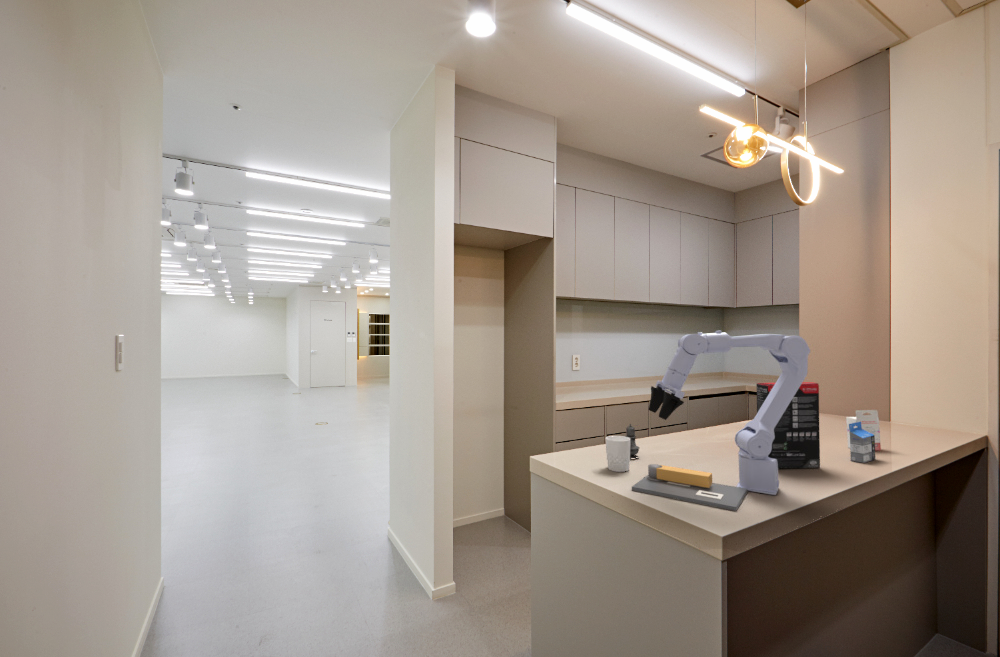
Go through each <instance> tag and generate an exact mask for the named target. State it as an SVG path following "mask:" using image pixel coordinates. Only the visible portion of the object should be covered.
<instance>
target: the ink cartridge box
mask: <svg viewBox="0 0 1000 657" xmlns="http://www.w3.org/2000/svg"><path fill="white" fill-rule="evenodd" d="M866 413H867V415H866ZM864 414H865V415H864ZM845 420H846V434H847V435H846V436H847V437H846V438H847V448H848V449H850V429H849V424H852V423H856V422H860V421H861V427H862V429H863V430H865V431H867V432H869V433H871V434H873V435H875V452H876V451H882V447H881V446H882V445H881V431H880V418H879V412H878V410H877V409H864V410H863V409H861V410H858V409H857V410H855V416H846V417H845ZM854 428H857V426H856V425H855V426H854Z"/></svg>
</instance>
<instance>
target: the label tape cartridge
mask: <svg viewBox="0 0 1000 657" xmlns="http://www.w3.org/2000/svg"><path fill="white" fill-rule="evenodd" d="M855 425H856V426H857V428H854V426H855ZM849 429H850V448H849V450H850V451H849V452H850V454H849V455H850V461H851V462H856V463H860V464H865V463H869V462H871V461H874V460H876V459H877V458H876V451H875V435H873V434H871V433H869V432H867V431H865V430H863V429H862V427H861V421H860V422H856V423H852V424H849Z"/></svg>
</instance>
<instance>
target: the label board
mask: <svg viewBox="0 0 1000 657" xmlns="http://www.w3.org/2000/svg"><path fill="white" fill-rule="evenodd" d="M631 491H634V492H638V493H642V494H643V493H644V494H647V495H654V496H660V497H664V498H669V499H673V500H677V501H682V502H689V503H693V504H698V505H704V506H709V507H713V508H718V509H722V510H728V511H733V512H737V510H738V509H739V507H740V506H741V503H742V502H743V500H744V499H745V497H746V495H747V494H748V491H747V489H746V488H740V487H736V486H733V485H727V484H723V483H715V482H712V485H711V486H710V487H709V488H706V487H701V486H695V485H690V484H684V483H678V482H673V481H667V480H661V479H657V478H651V477H649V476H648V474H647V475H645V477H643V478H641V479H640V480H639V481H638V482H636V483H635V484H633V485H632V486H631Z"/></svg>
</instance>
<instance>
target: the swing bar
mask: <svg viewBox="0 0 1000 657" xmlns="http://www.w3.org/2000/svg"><path fill="white" fill-rule="evenodd" d="M647 467H648V468H647V469H648V470H647V471H648V474H647V475H648V476H649V477H651V478H657V479H661V480H667V481H673V482H678V483H684V484H690V485H695V486H701V487H706V488H709V487H710V486H711V485H712V483H713V473H712V472H709V471H708V472H707V471H700V470H693V469H689V468H681V467H676V466H675V467H674V466H670V465H662V464H657V463H651V464H648V466H647Z"/></svg>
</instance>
